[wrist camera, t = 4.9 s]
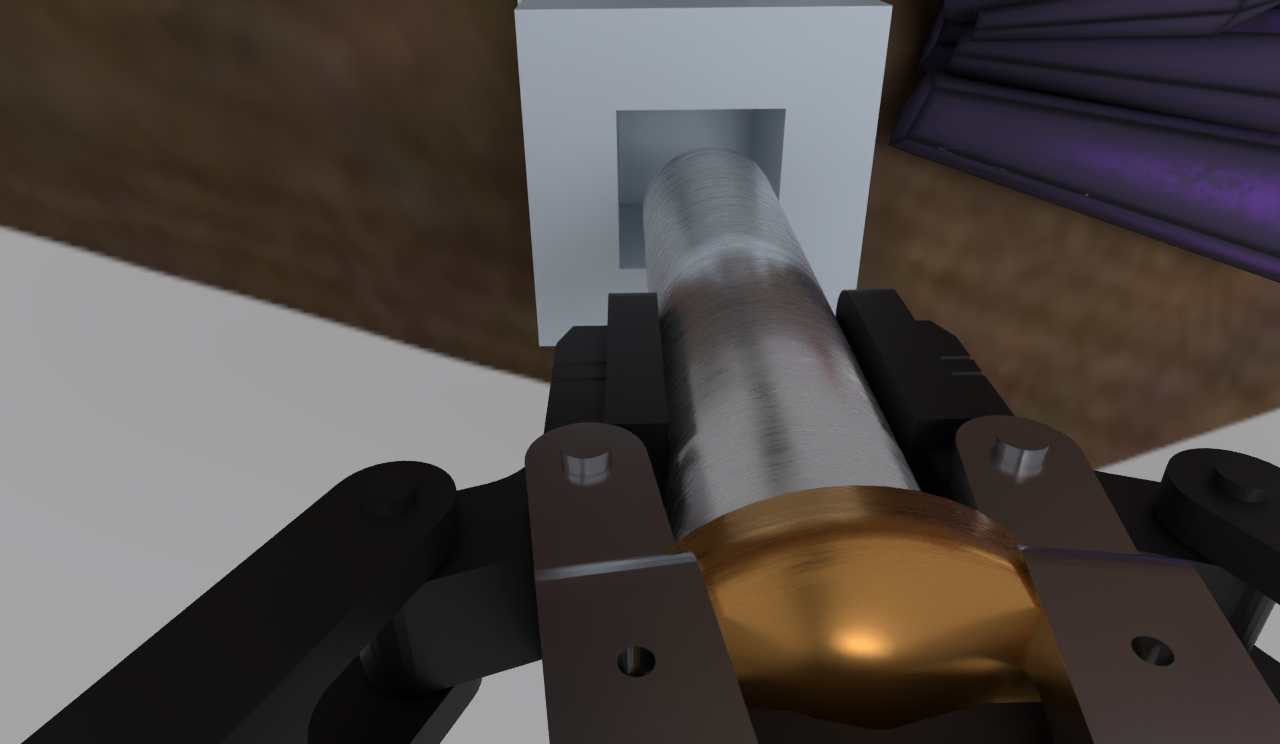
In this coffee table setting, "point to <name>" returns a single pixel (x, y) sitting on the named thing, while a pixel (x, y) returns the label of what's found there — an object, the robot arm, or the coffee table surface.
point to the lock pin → (811, 481)
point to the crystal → (1115, 113)
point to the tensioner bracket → (690, 128)
